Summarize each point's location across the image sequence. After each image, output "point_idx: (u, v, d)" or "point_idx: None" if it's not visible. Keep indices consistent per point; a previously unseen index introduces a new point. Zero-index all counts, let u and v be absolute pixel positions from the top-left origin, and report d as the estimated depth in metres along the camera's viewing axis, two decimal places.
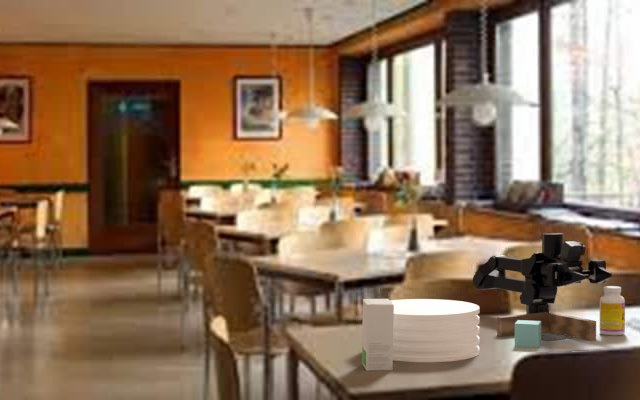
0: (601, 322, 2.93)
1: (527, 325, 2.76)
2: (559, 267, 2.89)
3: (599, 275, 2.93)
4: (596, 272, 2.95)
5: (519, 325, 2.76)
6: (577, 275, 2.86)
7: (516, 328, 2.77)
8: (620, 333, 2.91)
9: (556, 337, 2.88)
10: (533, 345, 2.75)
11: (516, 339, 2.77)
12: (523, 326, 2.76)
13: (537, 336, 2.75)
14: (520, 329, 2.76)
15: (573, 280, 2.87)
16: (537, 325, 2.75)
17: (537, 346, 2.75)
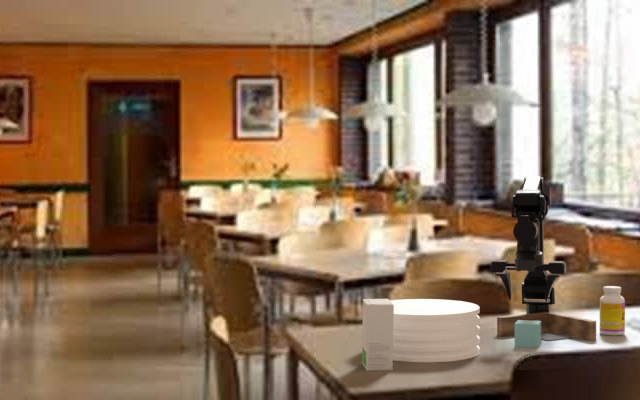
0: (601, 322, 2.93)
1: (527, 325, 2.76)
2: (497, 275, 2.78)
3: None
4: None
5: (519, 325, 2.76)
6: None
7: (516, 328, 2.77)
8: (620, 333, 2.91)
9: (556, 337, 2.88)
10: (533, 345, 2.75)
11: (516, 339, 2.77)
12: (523, 326, 2.76)
13: (537, 336, 2.75)
14: (520, 329, 2.76)
15: None
16: (537, 325, 2.75)
17: (537, 346, 2.75)
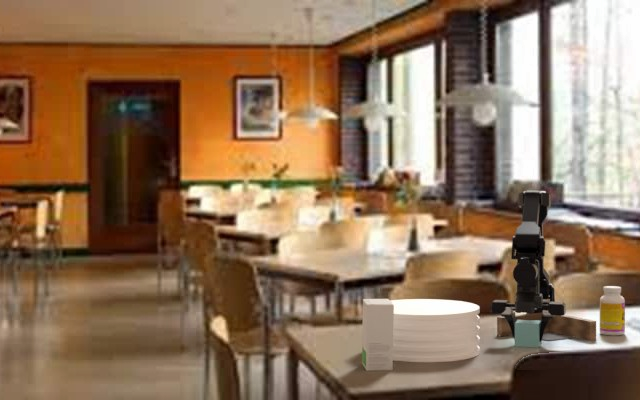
0: (601, 322, 2.93)
1: (527, 325, 2.76)
2: (502, 316, 2.78)
3: None
4: None
5: (519, 325, 2.76)
6: None
7: (516, 328, 2.77)
8: (620, 333, 2.91)
9: (556, 337, 2.88)
10: (533, 345, 2.75)
11: (516, 339, 2.77)
12: (523, 326, 2.76)
13: (537, 336, 2.75)
14: (520, 329, 2.76)
15: None
16: (537, 325, 2.75)
17: (537, 346, 2.75)
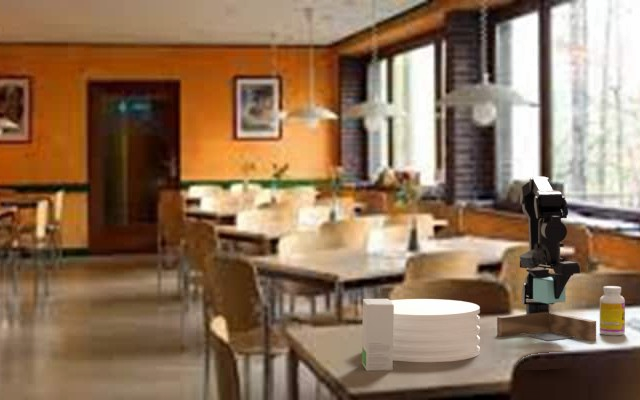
0: (601, 322, 2.93)
1: (540, 281, 2.87)
2: (528, 271, 2.93)
3: None
4: None
5: (536, 280, 2.89)
6: None
7: (534, 283, 2.90)
8: (620, 333, 2.91)
9: (556, 337, 2.88)
10: (544, 300, 2.86)
11: (534, 293, 2.90)
12: (538, 281, 2.88)
13: (547, 292, 2.85)
14: (536, 284, 2.89)
15: None
16: (546, 281, 2.85)
17: (546, 302, 2.85)
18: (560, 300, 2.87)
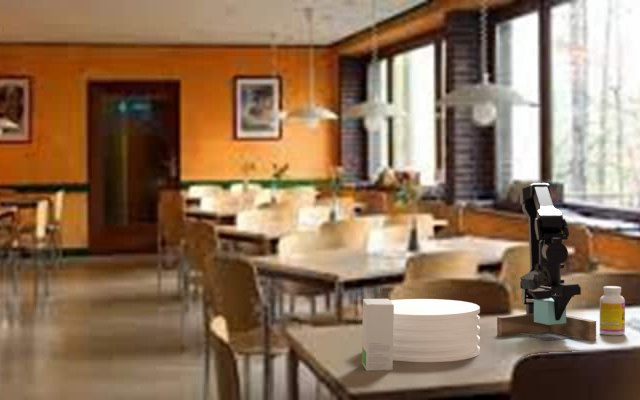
0: (601, 322, 2.93)
1: (541, 302, 2.88)
2: (529, 292, 2.94)
3: None
4: None
5: (536, 301, 2.89)
6: None
7: (534, 304, 2.90)
8: (620, 333, 2.91)
9: (556, 337, 2.88)
10: (545, 322, 2.87)
11: (535, 314, 2.90)
12: (539, 302, 2.89)
13: (547, 313, 2.86)
14: (537, 305, 2.89)
15: None
16: (547, 303, 2.85)
17: (547, 323, 2.86)
18: (561, 321, 2.87)
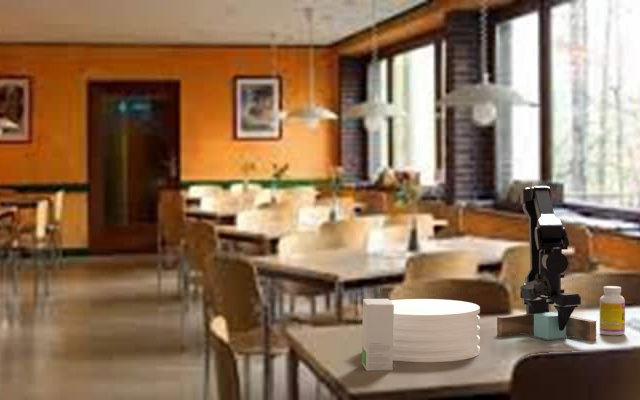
0: (601, 322, 2.93)
1: (541, 316, 2.88)
2: None
3: None
4: None
5: (536, 316, 2.90)
6: None
7: (535, 318, 2.90)
8: (620, 333, 2.91)
9: None
10: (545, 336, 2.87)
11: (535, 329, 2.90)
12: (539, 317, 2.89)
13: (547, 328, 2.86)
14: (537, 319, 2.89)
15: None
16: (547, 317, 2.86)
17: (547, 337, 2.86)
18: (561, 336, 2.88)
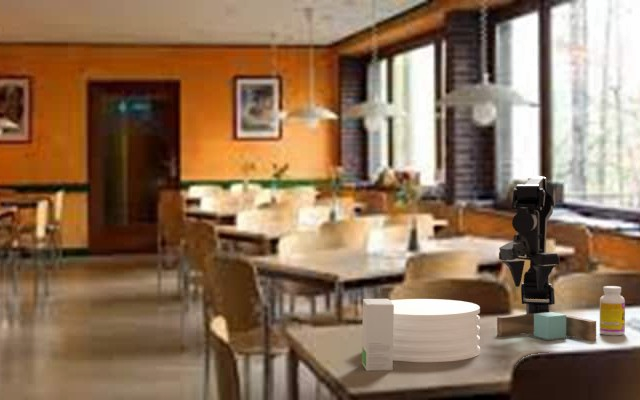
0: (601, 322, 2.93)
1: (541, 316, 2.88)
2: (504, 262, 2.97)
3: None
4: None
5: (536, 316, 2.90)
6: None
7: (535, 318, 2.90)
8: (620, 333, 2.91)
9: None
10: (545, 336, 2.87)
11: (535, 329, 2.90)
12: (539, 317, 2.89)
13: (547, 328, 2.86)
14: (537, 319, 2.89)
15: None
16: (547, 317, 2.86)
17: (547, 337, 2.86)
18: (561, 336, 2.88)
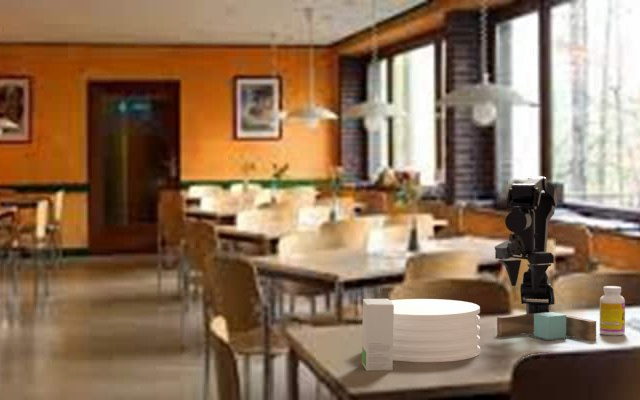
0: (601, 322, 2.93)
1: (541, 316, 2.88)
2: (500, 261, 2.98)
3: None
4: None
5: (536, 316, 2.90)
6: None
7: (535, 318, 2.90)
8: (620, 333, 2.91)
9: None
10: (545, 336, 2.87)
11: (535, 329, 2.90)
12: (539, 317, 2.89)
13: (547, 328, 2.86)
14: (537, 319, 2.89)
15: None
16: (547, 317, 2.86)
17: (547, 337, 2.86)
18: (561, 336, 2.88)
